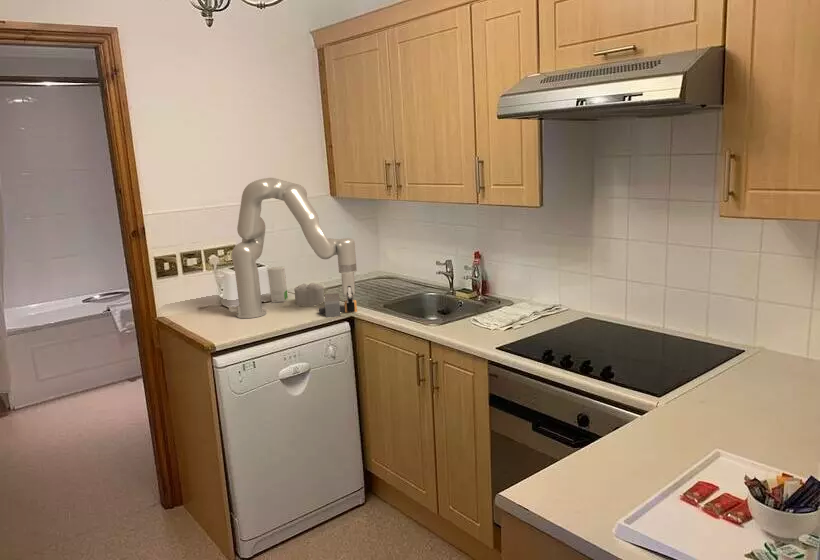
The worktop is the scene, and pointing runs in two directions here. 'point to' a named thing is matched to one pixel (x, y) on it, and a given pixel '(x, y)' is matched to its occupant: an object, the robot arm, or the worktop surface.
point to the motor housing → (332, 305)
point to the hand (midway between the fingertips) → (350, 309)
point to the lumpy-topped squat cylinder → (309, 294)
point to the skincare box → (278, 284)
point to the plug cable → (342, 308)
